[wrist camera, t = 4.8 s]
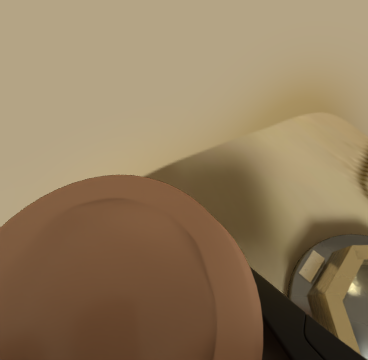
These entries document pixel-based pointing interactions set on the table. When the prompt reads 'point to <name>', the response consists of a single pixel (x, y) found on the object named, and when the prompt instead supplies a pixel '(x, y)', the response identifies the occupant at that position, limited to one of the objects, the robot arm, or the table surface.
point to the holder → (336, 288)
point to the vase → (124, 278)
